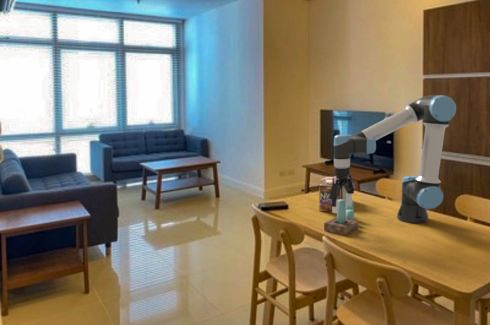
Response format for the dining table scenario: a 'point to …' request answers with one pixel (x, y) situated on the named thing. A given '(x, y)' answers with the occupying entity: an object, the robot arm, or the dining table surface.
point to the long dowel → (341, 211)
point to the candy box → (325, 198)
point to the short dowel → (350, 214)
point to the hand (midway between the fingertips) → (342, 209)
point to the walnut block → (341, 226)
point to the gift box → (342, 191)
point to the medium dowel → (350, 207)
